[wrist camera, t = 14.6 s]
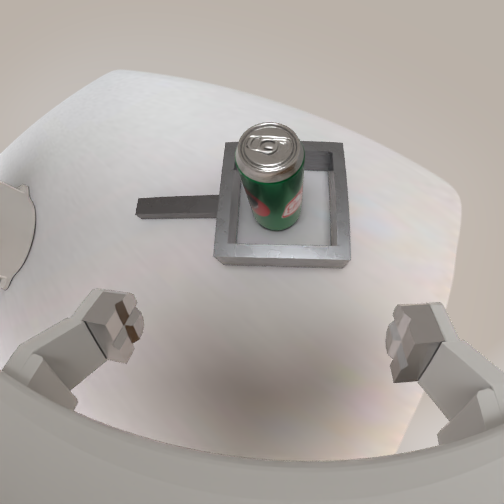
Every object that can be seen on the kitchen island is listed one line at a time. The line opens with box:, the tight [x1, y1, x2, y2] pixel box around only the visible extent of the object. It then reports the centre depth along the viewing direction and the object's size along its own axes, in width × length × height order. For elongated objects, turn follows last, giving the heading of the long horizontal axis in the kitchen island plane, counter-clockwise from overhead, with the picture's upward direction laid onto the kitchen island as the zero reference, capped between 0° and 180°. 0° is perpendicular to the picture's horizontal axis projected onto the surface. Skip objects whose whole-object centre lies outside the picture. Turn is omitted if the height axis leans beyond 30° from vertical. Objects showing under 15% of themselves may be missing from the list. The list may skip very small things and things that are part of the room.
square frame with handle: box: [135, 141, 351, 268], centre depth 29 cm, size 23×12×4 cm, turn 87°
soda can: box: [235, 122, 305, 230], centre depth 24 cm, size 5×5×12 cm
